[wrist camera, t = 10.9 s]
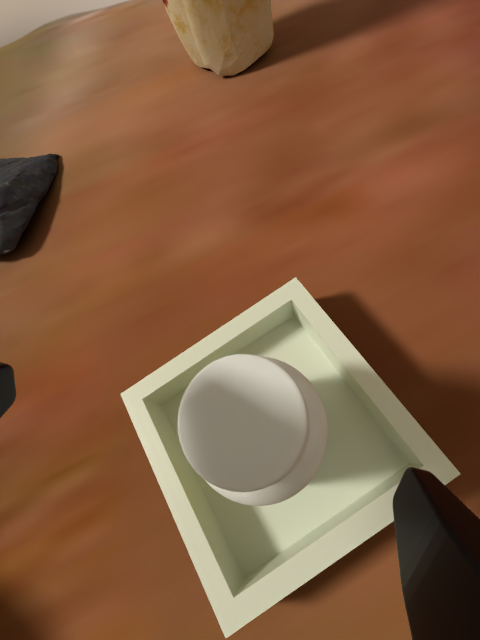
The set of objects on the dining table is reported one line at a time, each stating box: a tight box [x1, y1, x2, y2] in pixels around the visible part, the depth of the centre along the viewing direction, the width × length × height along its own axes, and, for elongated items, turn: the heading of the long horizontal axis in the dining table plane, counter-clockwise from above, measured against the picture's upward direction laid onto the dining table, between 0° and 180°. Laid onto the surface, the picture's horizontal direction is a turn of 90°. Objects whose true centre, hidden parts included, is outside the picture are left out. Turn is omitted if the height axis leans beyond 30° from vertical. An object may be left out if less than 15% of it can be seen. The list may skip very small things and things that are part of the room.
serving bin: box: [121, 277, 460, 638], centre depth 18 cm, size 12×12×4 cm
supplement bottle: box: [178, 354, 328, 506], centre depth 14 cm, size 5×5×10 cm
